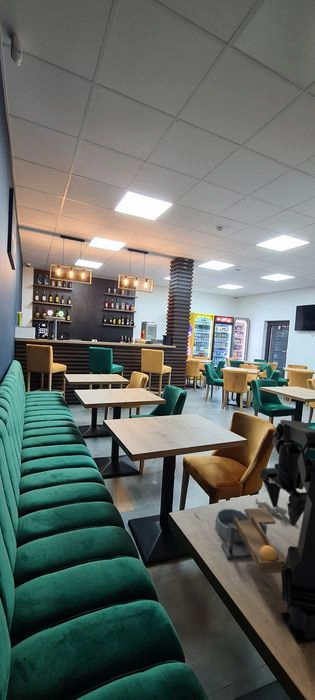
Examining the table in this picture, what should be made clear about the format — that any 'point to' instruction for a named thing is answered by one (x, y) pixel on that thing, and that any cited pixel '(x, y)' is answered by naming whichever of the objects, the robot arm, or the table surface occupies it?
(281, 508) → the soldier figure
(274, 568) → the lever
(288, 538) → the table surface
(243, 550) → the lever stand
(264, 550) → the ball
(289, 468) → the robot arm
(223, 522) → the cup
